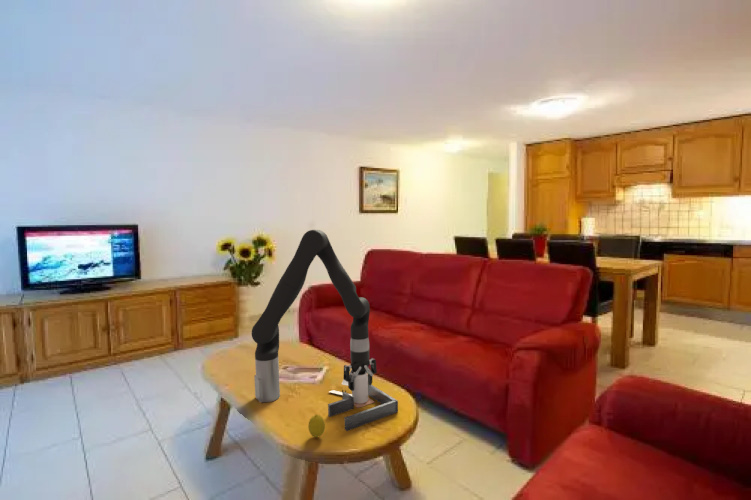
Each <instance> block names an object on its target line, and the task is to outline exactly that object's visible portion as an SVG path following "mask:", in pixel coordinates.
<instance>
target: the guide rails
mask: <svg viewBox="0 0 751 500" xmlns="http://www.w3.org/2000/svg"><path fill="white" fill-rule="evenodd" d="M349 394H350V393H348V392H347V391H346V392H345V391H343V395H342V399H341V400H337V401H334V402H331V403H330V402H329V403H327V409H328V410H327V411H328V417H329V418H332V417H334V416H337V415H340V414H343V413H346V412H349V411H351V410H354V409H355V406H354V398H353V397H352V396H350V395H349ZM368 397H369V398H371V399H372V400H373V399H374V400H375V401H376V400H377V402H378V403H379V402H380V403H379V404H380V405H376V406H374V407H371V408H368V409H365V410H362V411H359V412H357V413H354V414H351V415H347V416H345V417H344V418H343V419H344V431H345V432H348V431H350V430H351V431H352V430H354V429H356V428H358V427H362V426H365V425H367V424H371V423H373V422H375V421H379V420H380V419H383V418H385V417H389V416H392V415H394V414H397V413H399V400H397V399H396V398H394V397H393V396H390V394H388V393H386V392H384V391H383V390H381V389H379V388H378V387H376V386H375V385H373V384H372V385H368Z"/></svg>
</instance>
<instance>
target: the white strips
mask: <svg viewBox="0 0 751 500" xmlns="http://www.w3.org/2000/svg"><path fill="white" fill-rule="evenodd" d="M341 385H343V386H347V387H348V382H347V381H345V380H344V379H342V382H341ZM343 392H346V393H347V390H344V389H342V391H338V390H334V389H332V390H330V391H328V393H332V394H336V395H339V396H343ZM348 394H349V395H350V396H352V393H348Z"/></svg>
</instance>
